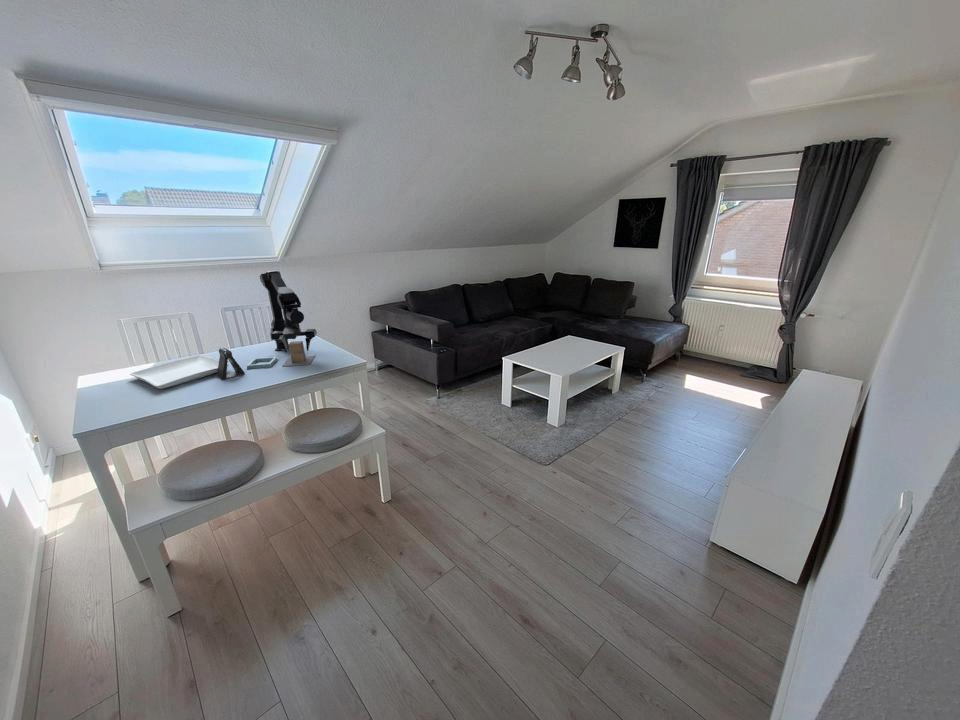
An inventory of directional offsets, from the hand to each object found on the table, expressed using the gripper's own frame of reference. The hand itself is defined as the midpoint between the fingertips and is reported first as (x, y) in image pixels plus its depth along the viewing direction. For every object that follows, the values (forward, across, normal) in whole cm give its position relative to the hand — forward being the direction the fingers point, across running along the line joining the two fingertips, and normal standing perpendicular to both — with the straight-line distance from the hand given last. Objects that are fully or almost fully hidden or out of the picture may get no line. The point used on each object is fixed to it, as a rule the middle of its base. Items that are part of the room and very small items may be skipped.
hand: (297, 351), depth 175 cm
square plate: (+6, -46, -7) cm, 47 cm away
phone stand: (+5, -25, -12) cm, 28 cm away
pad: (+5, 0, 0) cm, 5 cm away
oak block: (+4, 0, 0) cm, 5 cm away
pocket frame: (+5, -16, 0) cm, 17 cm away
